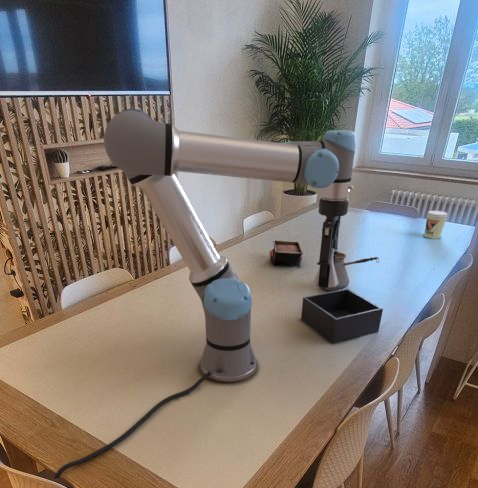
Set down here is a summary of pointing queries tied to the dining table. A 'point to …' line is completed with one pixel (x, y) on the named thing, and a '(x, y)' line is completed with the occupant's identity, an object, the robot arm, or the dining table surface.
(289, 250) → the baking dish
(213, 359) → the robot arm
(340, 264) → the coffee pot
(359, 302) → the dark grey open box
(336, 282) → the flask
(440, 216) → the coffee cup
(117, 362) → the dining table surface
